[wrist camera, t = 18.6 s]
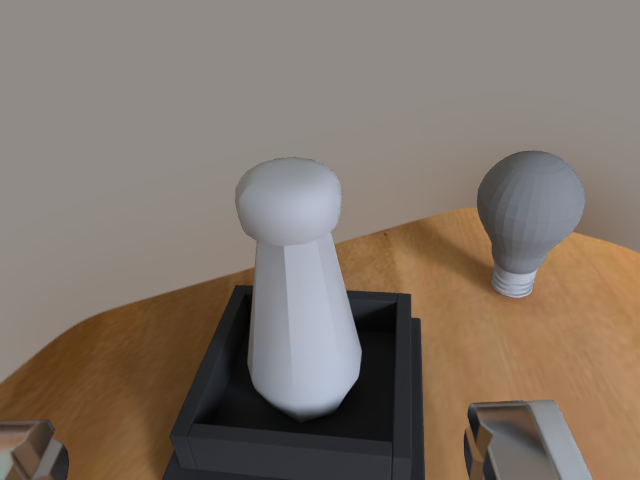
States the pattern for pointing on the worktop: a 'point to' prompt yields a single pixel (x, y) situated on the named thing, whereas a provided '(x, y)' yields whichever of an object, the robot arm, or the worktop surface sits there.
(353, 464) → the pad
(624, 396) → the worktop surface
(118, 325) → the worktop surface
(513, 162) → the light bulb
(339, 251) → the worktop surface
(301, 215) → the salt shaker
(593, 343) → the worktop surface
